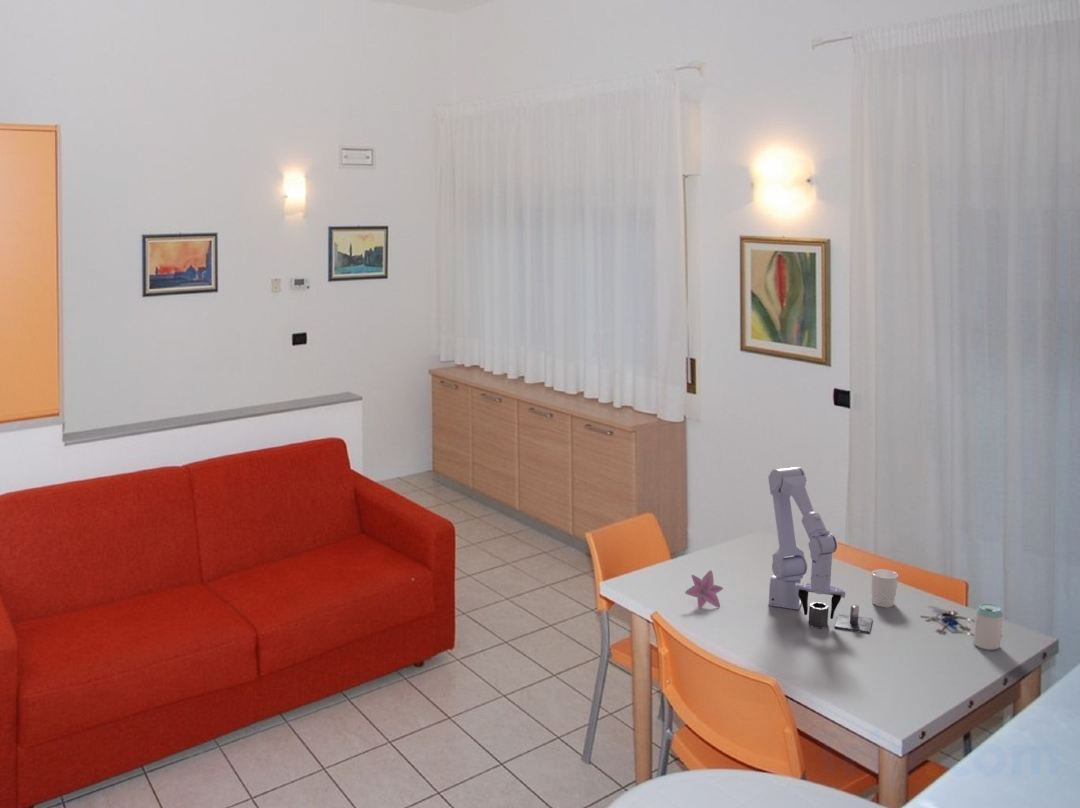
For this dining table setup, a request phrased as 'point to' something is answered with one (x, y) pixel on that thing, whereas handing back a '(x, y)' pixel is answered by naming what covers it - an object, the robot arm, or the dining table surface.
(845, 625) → the post
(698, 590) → the lily
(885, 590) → the white cup
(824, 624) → the tube
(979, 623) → the can
